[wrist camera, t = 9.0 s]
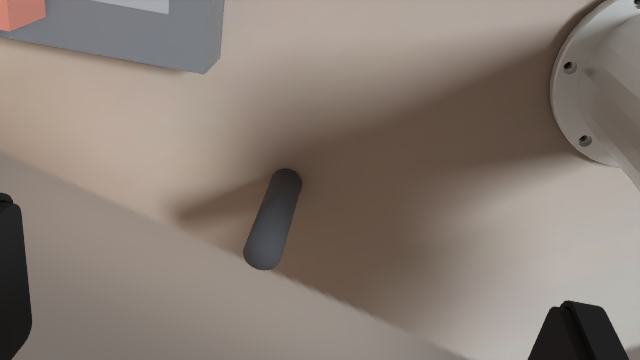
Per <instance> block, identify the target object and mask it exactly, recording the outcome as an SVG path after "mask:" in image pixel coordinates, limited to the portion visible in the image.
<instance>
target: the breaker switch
mask: <svg viewBox="0 0 640 360" xmlns="http://www.w3.org/2000/svg"><path fill="white" fill-rule="evenodd" d="M45 17H46V13H45V0H0V30H4V31H12V30H15V29H17V28H20V27H22V26H25V25H27V24H30V23H32V22H35V21H37V20H40V19H42V18H45Z"/></svg>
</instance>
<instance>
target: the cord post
mask: <svg viewBox="0 0 640 360" xmlns="http://www.w3.org/2000/svg"><path fill="white" fill-rule="evenodd" d="M301 185H302V182H301V178H300V177H299V175H298V174H297V173H296V172H294V171H292V170H290V169H281V170H278V171H277V172H275V173H274V175H273V176H272V179H271V181H270V184H269V186H268V189H267V192H266V194H265V197H264V199H263V202H262V204H261V207H260V209H259V212H258V214H257V217H256V219H255V222H254V224H253V227H252V229H251V232H250V234H249V237H248V240H247V242H246V245H245V247H244V250H243V255H244V258H245V260H246V262H247V263H248V264H249V265H250V266H252V267H254V268H256V269H259V270H269V269H272V268H274V267H276V266H277V265H278V263H279V261H280V259H281V255H282V252H283V248H284V245H285V241H286V238H287V234H288V231H289V227H290V224H291V220H292V217H293V214H294V210H295V207H296V203H297V200H298V196H299V193H300V189H301Z"/></svg>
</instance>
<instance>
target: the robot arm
mask: <svg viewBox="0 0 640 360" xmlns="http://www.w3.org/2000/svg"><path fill="white" fill-rule="evenodd" d="M567 62H570V65H569V66H568V67H566V68H564V65H565V63H567ZM550 102H551V107H552V111H553V115H554V118H555V120H556V122H557V124H558V126H559V128H560V130H561V131H562V132H563V134H564V135H565V137H566V138H567V140H568V141H569V142H570V143H571V144H572V145H573V146H574V147H575V148H576V149H577V150H578V151H580V152H581V153H583V154H584V155H586V156H588V157H589V158H591V159H592V160H595V161H598V162H600V163H603V164H605V165H609V166H614V167H619V168H621V169H622V170H623V171H624V172H625V174H626V175H627V176H628V177H629V179H630V180H631V181H632V182H633V184H634V185H635V186H636V187H637V189H638V190H639V191H640V0H639V1H638V2H637V3H634V0H606V1H604V2H602V3H601V4H599V5H598V6H597V7H596V8H595V9H593V10H592V11H591V12H590V13H588V14H587V15H586V16H585V17H584V18H583V19H582V20H581V21H580V22H579V23H578V25H577V26H576V27H575V28H574V29H573V30H572V31H571V32H570V34H569V36H568V37H567V39H566V40H565V42H564V44H563V45H562V47H561V48H560V51H559V53H558V55H557V58H556V60H555V63H554V65H553V70H552V75H551V80H550ZM584 135H585V137H584V138H582V139H580V138H581V137H582V136H584ZM31 326H32V314H31V304H30V294H29V284H28V275H27V265H26V256H25V246H24V235H23V225H22V215H21V209H20V207H19V206H18V205H16V204H13V200H12V199H11V197H10V196H9V195H7V194H4V193H0V360H11V359H12V358H13V357H14V356H15V354H16V353H17V352H18V350H19V349H20V348H21V347H22V345H23V344H24V343H25V341H26V340H27V338H28V336H29V334H30V331H31ZM528 360H629V358H628V356H627V354H626V352H625V350H624V348H623V346H622V344H621V342H620V340H619V338H618V336H617V334H616V332H615V330H614V328H613V326H612V324H611V322H610V320H609V318H608V316H607V314H606V312H605V311H604V309H603V308H602V307H599V306H595V305H590V304H584V303H579V302H574V301H569V300H568V301H564V302H563V303H562V304H561V306H560V307H552V308H551V309H550V310H549V312H548V314H547V316H546V319H545V321H544V323H543V326H542V328H541V330H540V332H539V335H538V337H537V339H536V342H535V344H534V346H533V349H532V351H531V353H530V355H529V358H528Z"/></svg>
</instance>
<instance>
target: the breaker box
mask: <svg viewBox="0 0 640 360" xmlns="http://www.w3.org/2000/svg"><path fill="white" fill-rule="evenodd" d="M223 11H224V0H45V13H46V17H45V18H42V19H40V20H37V21H35V22H32V23H30V24H27V25H25V26H22V27H20V28H17V29H15V30H12V31H4V30H0V37H3V38H9V39H14V40H20V41H25V42H30V43H36V44H41V45H47V46H52V47H58V48H63V49H69V50H74V51H80V52H85V53H90V54H96V55H101V56H107V57H112V58H118V59H123V60H129V61H134V62H139V63H145V64H150V65H156V66H161V67H167V68H172V69H178V70H183V71H189V72H194V73H199V74H205V73H206V72H207V71H208V70H209V69H210V68H211V67H212V66H213V65H214V64H215V63H216V62H217V61H218V59H219V58H220V51H221V37H222V24H223Z"/></svg>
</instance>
